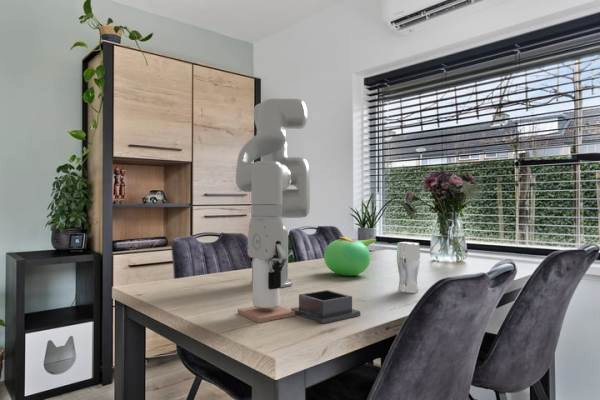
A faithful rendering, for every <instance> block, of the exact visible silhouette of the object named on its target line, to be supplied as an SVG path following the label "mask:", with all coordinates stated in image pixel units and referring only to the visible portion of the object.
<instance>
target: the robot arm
mask: <svg viewBox="0 0 600 400" xmlns="http://www.w3.org/2000/svg"><path fill="white" fill-rule="evenodd" d="M308 112H309V111H308V107H307V104H306V103H305V101H304V100H302V99H300V98H269V99H266V100H264V101H262V102H260V103H258V104H256V105H255V106H254V108H253V119H254V124H255V128H256V134H255V135H254V136H253V137H252V138H250V139H249V140H248V141H246V143H245V144H244V145H243V146H242V148H241V149H240V150H239V153H238V156H237V162H236V167H235V168H236V169H235V184H236V187H237V188H238V189H239V190H240V191H241V192H245V193H246V192H248V193H251V194H250V196H251V197H250V202H251V203H250V205H251V206H250V209H251V210H250V220H249V225H248V233H247V234H248V235H247V249H246V250H247V255H248V257H249V260H250V262H251V264H250V266H251V269H252V270H251V272H252V273H251V274H252V275H251V278H252V279H251V282H252V284H253V262H254V259H255V258H256V257H257V258H258V259H260V260H264V261H268V264H269V268H270V272H268V288H269V289H278V288H279V289H280V288H286V287H290V286H292V285H293V280H292V279H290V278H289V232H288V228H287V226H286V225H285V223H283V219H300V218H306V217H308V216H309V214H310V209H311V208H310V207H311V206H310V205H311V193H310V192H311V191H310V190H311V185H310V184H311V183H310V182H311V174H310V165H309V162H308V160H307V158H304V157H299V156H298V157H297V156H288V142H287V129H304V128H305V126H306V125H307V122H308V115H309V114H308ZM259 158H261V160H259V161H258V160H257V159H259ZM256 160H257V161H256ZM254 161H255V162H254ZM290 186H294V187H295V188H296V189H294V188H293V189H292V188H290V189H289V187H290ZM273 257H276V258H273ZM271 258H272V259H271ZM273 262H276V263H275V265H273Z"/></svg>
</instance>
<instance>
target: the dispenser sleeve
mask: <svg viewBox="0 0 600 400" xmlns="http://www.w3.org/2000/svg"><path fill="white" fill-rule="evenodd" d="M290 310H292V311H295V315H296V314H297V315H296V316H299V315H300V316H299V317H303V318H304V319H307V318H308V319H307V320H310V319H311V320H310V321H313V320H314V321H313V322H316V321H317V322H316V323H318V322H319V324H321V323H324V324H327V323H328V322H329V323H333V322H337V320H338V321H343V320H347V319H350V318H351V319H352V318H354V317H360V316H361V310H357V309H354V308H353V296H351V295H348V294H344V293H340V292H336V291H332V290H328V289H325V290H319V291H312V292H306V293H299V294H298V306H297V307H292V308H290ZM346 318H347V319H346ZM332 321H333V322H332Z"/></svg>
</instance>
